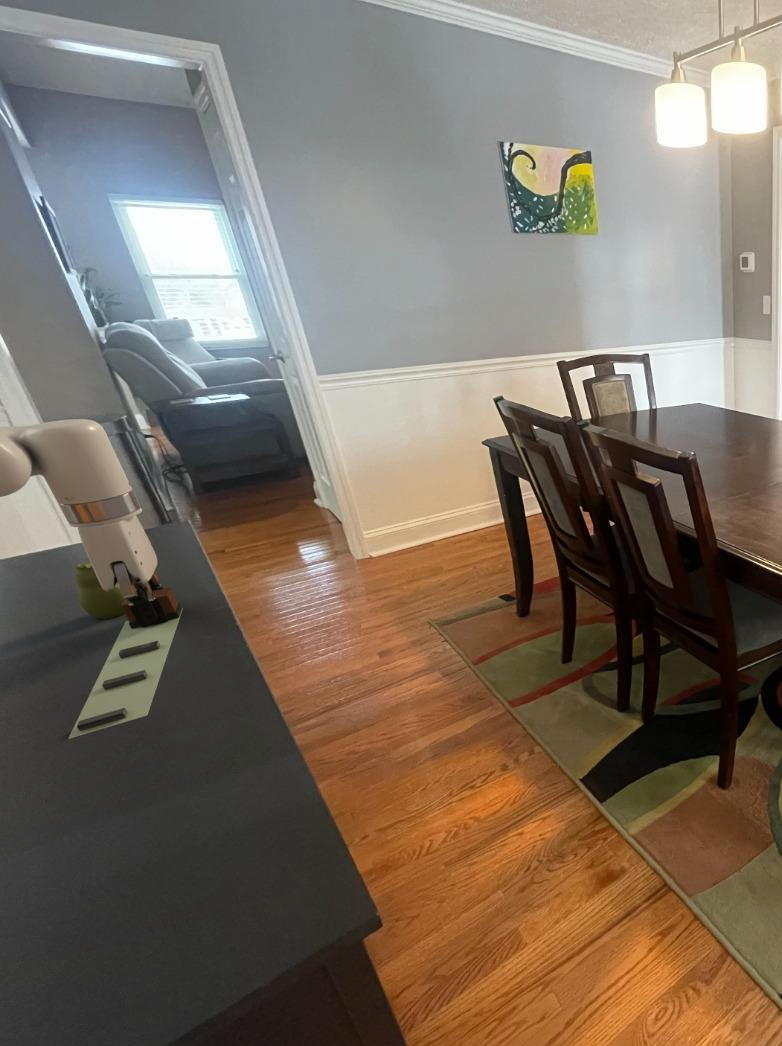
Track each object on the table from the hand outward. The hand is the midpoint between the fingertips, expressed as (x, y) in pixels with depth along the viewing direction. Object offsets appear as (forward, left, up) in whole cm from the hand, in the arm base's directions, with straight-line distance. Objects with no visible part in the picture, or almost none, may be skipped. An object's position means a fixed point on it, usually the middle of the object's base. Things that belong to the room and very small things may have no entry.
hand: (156, 617), depth 93 cm
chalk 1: (0, -11, 0) cm, 11 cm away
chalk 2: (-1, -20, 0) cm, 20 cm away
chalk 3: (-1, -29, 0) cm, 29 cm away
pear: (-6, +7, -1) cm, 9 cm away
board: (-1, -14, -1) cm, 14 cm away
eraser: (0, 0, 0) cm, 0 cm away
